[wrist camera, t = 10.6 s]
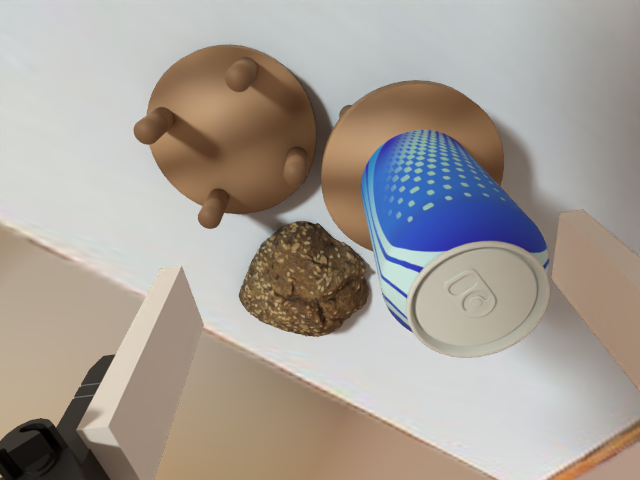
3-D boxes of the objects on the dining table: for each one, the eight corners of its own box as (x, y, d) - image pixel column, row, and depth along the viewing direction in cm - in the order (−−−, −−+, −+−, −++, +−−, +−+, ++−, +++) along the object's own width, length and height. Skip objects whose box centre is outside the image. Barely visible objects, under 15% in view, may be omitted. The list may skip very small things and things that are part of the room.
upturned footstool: (118, 98, 38) (86, 115, 32) (261, 9, 35) (251, 13, 29) (214, 228, 44) (200, 261, 38) (343, 163, 41) (347, 189, 35)
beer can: (477, 124, 33) (596, 224, 19) (459, 227, 37) (545, 372, 23) (362, 124, 33) (395, 224, 19) (356, 226, 37) (380, 371, 23)
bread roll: (225, 291, 48) (215, 321, 43) (288, 203, 43) (284, 227, 38) (324, 343, 51) (324, 376, 47) (393, 268, 46) (400, 297, 42)
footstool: (309, 84, 37) (308, 100, 32) (481, 59, 36) (509, 70, 31) (331, 232, 44) (333, 265, 39) (477, 214, 43) (498, 245, 38)
